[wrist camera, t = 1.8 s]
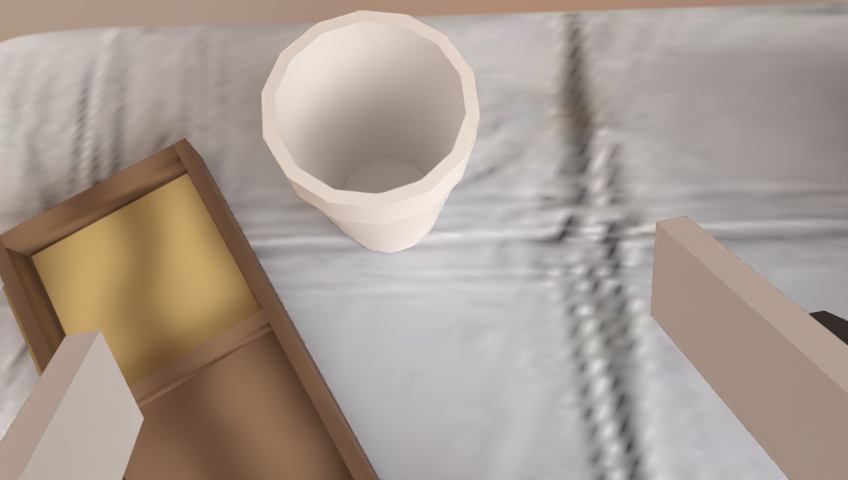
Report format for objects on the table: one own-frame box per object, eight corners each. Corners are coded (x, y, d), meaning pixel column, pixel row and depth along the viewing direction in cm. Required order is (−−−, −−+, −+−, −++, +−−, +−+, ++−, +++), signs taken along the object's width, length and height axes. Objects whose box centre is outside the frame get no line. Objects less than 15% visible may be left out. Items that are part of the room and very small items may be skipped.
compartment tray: (201, 157, 39) (185, 138, 37) (391, 502, 33) (389, 510, 31) (13, 257, 37) (-19, 245, 35) (180, 641, 32) (157, 662, 29)
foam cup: (285, 226, 38) (215, 133, 25) (366, 113, 40) (339, -22, 28) (411, 305, 36) (404, 248, 24) (489, 184, 39) (519, 75, 26)
